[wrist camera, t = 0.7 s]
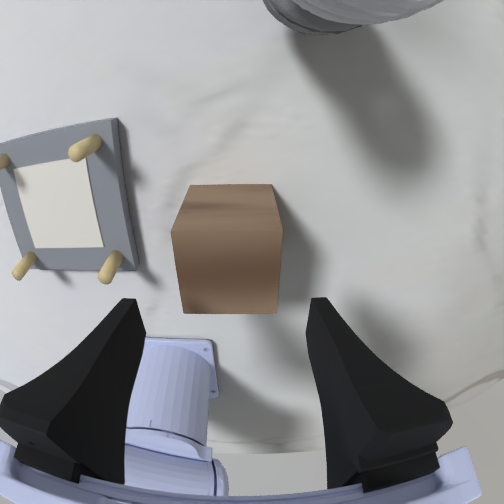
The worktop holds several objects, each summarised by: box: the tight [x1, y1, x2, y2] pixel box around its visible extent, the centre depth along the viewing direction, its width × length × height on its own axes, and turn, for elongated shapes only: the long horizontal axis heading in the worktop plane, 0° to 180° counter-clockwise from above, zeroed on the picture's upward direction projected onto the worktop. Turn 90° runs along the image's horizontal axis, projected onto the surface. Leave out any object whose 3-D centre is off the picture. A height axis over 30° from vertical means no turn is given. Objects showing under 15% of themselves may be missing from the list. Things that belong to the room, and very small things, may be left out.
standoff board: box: [0, 118, 139, 284], centre depth 17 cm, size 10×10×4 cm
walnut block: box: [171, 184, 283, 314], centre depth 17 cm, size 5×5×6 cm
